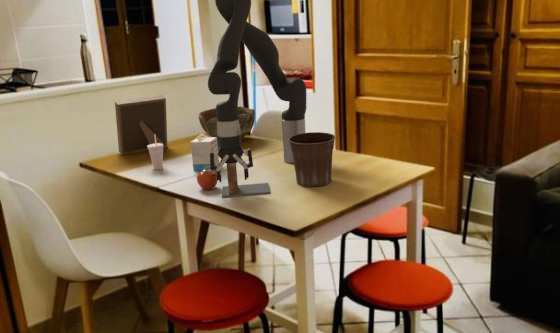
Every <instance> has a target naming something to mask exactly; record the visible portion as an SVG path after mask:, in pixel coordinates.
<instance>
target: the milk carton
mask: <svg viewBox="0 0 560 333" xmlns="http://www.w3.org/2000/svg"><path fill="white" fill-rule="evenodd" d="M189 143H190V148H191V150H190V151H191V161H192V169H193V171H202V170H204V169H205V167H208V169H210V152H211V151H213V152H218V151H219V144H218V141H217V137H211V136H207V135H206V134H205V133H201V134H199V135H197V136H196V137H195V139H193V140H191V141H190V142H189ZM219 162H220V157H219V156H218V155H217V156H216V158H215V159H214V166H217V165H218V164H219Z"/></svg>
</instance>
